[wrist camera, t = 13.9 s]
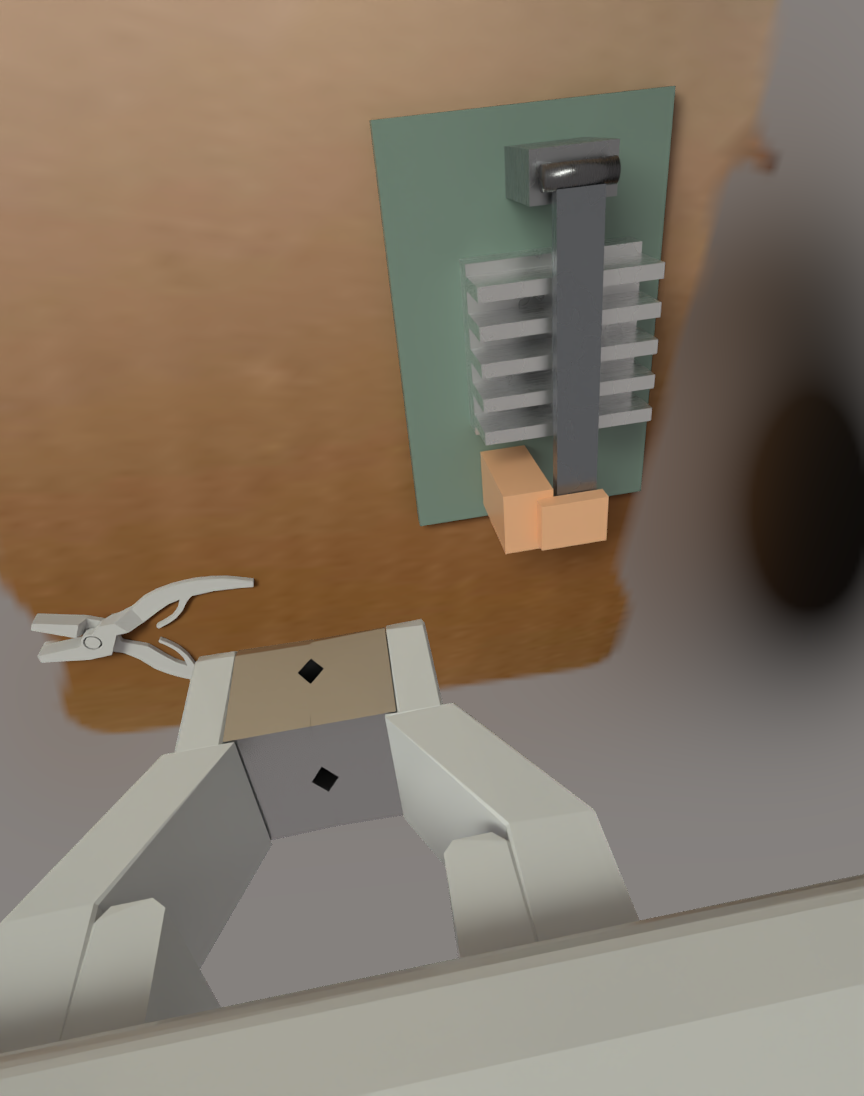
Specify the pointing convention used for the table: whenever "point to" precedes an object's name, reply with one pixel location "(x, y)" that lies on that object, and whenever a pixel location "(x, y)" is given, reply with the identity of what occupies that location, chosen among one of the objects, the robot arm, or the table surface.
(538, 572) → the table surface
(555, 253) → the strap
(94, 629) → the pliers
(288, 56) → the table surface
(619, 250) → the heatsink
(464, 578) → the table surface
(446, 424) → the board
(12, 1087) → the robot arm
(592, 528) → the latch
